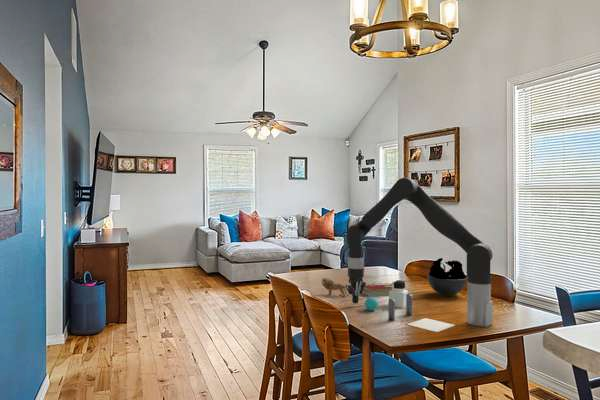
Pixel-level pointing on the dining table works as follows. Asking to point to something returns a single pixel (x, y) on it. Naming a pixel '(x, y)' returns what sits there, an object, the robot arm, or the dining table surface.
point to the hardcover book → (377, 290)
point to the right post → (409, 304)
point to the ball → (371, 303)
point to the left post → (391, 310)
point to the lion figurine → (333, 286)
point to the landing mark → (431, 325)
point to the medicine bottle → (398, 293)
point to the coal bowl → (447, 278)
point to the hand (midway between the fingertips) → (355, 303)
